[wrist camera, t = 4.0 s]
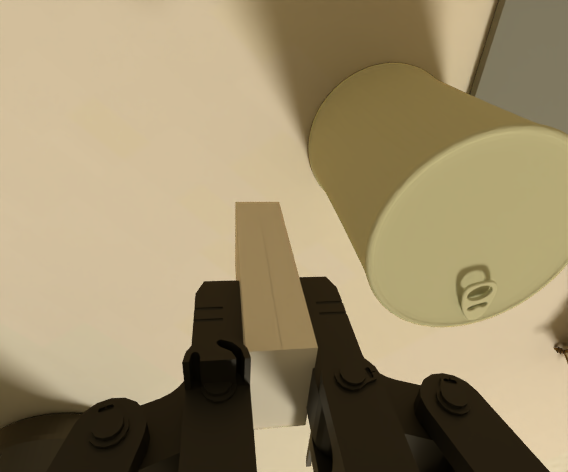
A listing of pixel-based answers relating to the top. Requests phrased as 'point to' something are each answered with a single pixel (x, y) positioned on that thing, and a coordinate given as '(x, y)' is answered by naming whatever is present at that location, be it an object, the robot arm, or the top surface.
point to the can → (442, 194)
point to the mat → (527, 61)
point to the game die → (560, 350)
